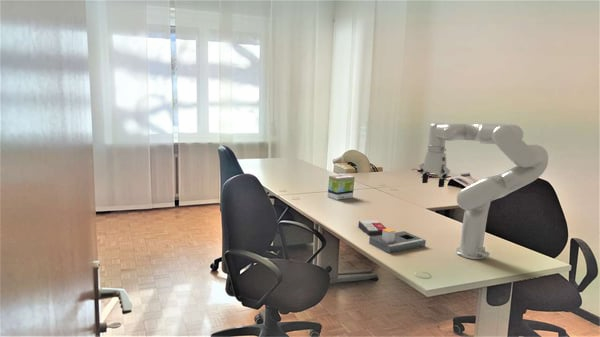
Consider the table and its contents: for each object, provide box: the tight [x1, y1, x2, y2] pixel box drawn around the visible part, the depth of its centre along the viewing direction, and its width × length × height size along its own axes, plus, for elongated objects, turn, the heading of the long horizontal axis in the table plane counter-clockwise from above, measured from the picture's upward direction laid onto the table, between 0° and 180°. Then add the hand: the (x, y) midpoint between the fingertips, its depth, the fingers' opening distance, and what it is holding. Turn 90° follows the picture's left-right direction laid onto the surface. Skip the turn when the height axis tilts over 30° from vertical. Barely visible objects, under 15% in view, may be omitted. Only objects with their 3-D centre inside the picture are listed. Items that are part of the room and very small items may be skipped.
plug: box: [382, 227, 396, 243], centre depth 194 cm, size 4×4×8 cm
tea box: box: [327, 173, 355, 201], centre depth 283 cm, size 15×10×15 cm
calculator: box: [358, 219, 388, 237], centre depth 217 cm, size 11×4×15 cm
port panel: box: [368, 230, 427, 255], centre depth 197 cm, size 14×22×4 cm, turn 120°
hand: (432, 184), depth 202 cm, fingers open, 9 cm apart
